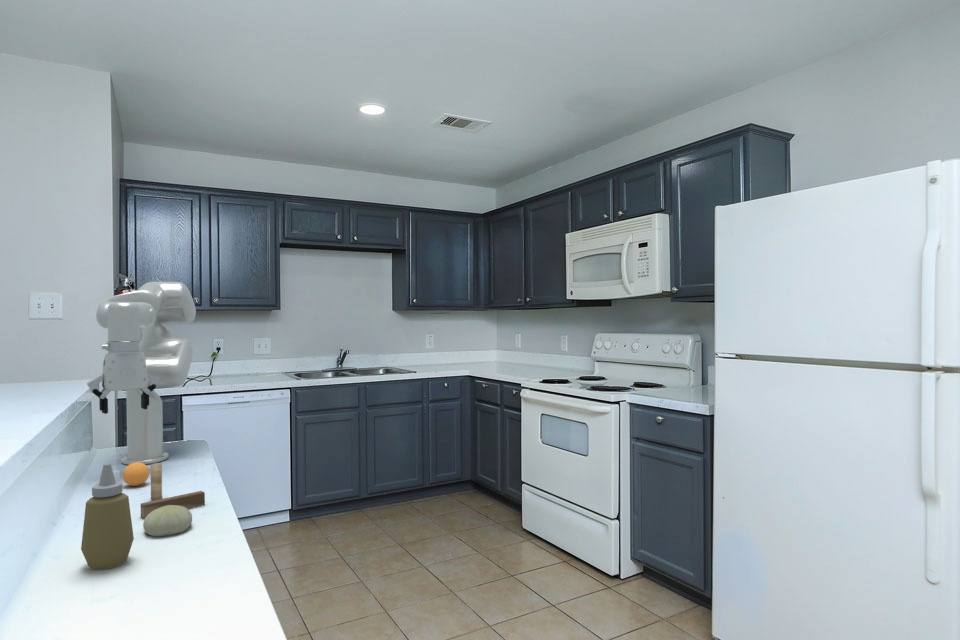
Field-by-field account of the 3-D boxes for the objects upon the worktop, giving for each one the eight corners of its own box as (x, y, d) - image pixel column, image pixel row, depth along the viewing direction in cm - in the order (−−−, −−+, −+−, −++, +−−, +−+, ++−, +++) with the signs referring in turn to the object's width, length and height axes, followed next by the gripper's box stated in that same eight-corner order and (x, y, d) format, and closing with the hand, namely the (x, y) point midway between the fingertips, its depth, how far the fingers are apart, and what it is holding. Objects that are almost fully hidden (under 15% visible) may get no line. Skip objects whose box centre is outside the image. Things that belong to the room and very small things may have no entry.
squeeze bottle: (95, 577, 101) (94, 473, 101) (72, 567, 106) (71, 466, 105) (143, 560, 108) (142, 462, 108) (119, 551, 112) (118, 457, 112)
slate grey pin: (108, 507, 138) (108, 470, 138) (120, 505, 139) (120, 469, 139) (107, 510, 136) (106, 473, 136) (119, 508, 137) (118, 472, 137)
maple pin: (151, 498, 144) (150, 463, 144) (162, 497, 145) (162, 462, 145) (150, 501, 142) (150, 466, 142) (161, 499, 143) (161, 464, 143)
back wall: (140, 516, 131) (140, 503, 131) (201, 503, 140) (201, 490, 140) (143, 519, 130) (143, 505, 130) (204, 505, 139) (204, 492, 139)
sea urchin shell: (203, 513, 129) (188, 495, 123) (189, 549, 123) (172, 532, 117) (164, 511, 129) (147, 493, 124) (147, 547, 124) (128, 530, 118)
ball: (124, 483, 156) (124, 461, 156) (150, 481, 159) (149, 458, 159) (121, 490, 151) (121, 466, 151) (148, 487, 153) (148, 464, 153)
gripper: (90, 350, 152) (91, 416, 152) (163, 347, 164) (164, 408, 165) (83, 348, 157) (84, 413, 157) (154, 345, 170) (155, 405, 170)
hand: (125, 410), depth 161 cm, fingers open, 9 cm apart
